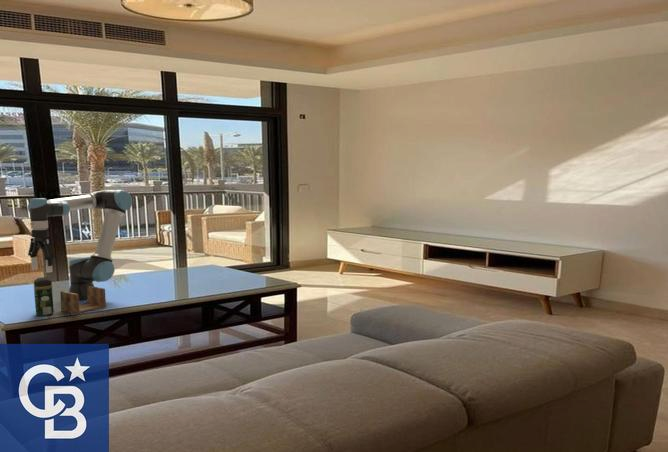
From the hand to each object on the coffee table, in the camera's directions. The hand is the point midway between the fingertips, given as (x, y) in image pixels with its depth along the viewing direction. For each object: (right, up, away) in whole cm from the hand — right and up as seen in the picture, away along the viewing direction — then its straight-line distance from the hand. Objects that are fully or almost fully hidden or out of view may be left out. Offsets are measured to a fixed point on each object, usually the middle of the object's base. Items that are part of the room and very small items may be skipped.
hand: (42, 271), depth 255 cm
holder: (+15, -21, +11) cm, 28 cm away
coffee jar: (0, -22, +2) cm, 22 cm away
